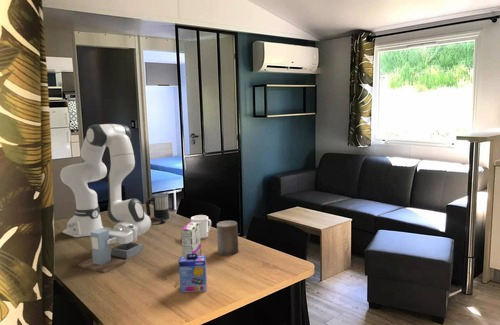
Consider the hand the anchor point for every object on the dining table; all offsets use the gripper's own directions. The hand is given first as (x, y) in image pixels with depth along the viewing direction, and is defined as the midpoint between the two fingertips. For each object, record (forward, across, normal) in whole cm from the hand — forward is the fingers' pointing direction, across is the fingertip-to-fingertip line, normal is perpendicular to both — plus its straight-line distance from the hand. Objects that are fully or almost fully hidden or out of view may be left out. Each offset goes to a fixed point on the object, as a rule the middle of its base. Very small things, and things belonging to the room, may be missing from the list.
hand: (98, 240), depth 177 cm
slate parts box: (-1, 0, +10) cm, 10 cm away
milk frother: (-67, -23, +12) cm, 72 cm away
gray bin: (-16, 0, +11) cm, 19 cm away
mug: (-51, +18, +11) cm, 55 cm away
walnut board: (-1, 0, +11) cm, 11 cm away
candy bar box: (-21, +34, +11) cm, 41 cm away
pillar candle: (-38, +42, +11) cm, 58 cm away
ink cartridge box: (+1, +51, +11) cm, 52 cm away
